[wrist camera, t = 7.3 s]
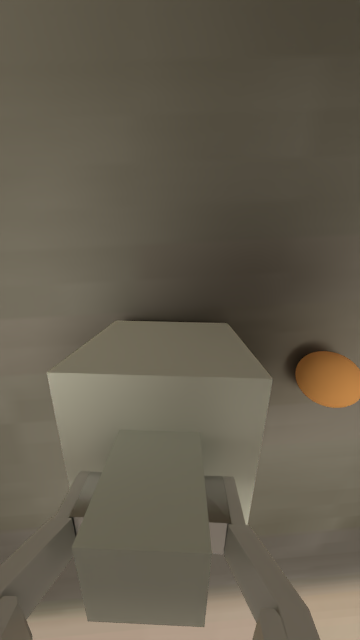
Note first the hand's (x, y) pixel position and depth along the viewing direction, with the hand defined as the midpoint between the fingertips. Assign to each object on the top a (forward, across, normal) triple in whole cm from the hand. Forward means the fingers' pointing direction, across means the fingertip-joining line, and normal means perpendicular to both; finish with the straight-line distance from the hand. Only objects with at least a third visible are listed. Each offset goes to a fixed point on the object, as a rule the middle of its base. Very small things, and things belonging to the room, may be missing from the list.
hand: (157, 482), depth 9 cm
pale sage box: (+10, 0, 0) cm, 10 cm away
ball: (+9, -15, 0) cm, 17 cm away
